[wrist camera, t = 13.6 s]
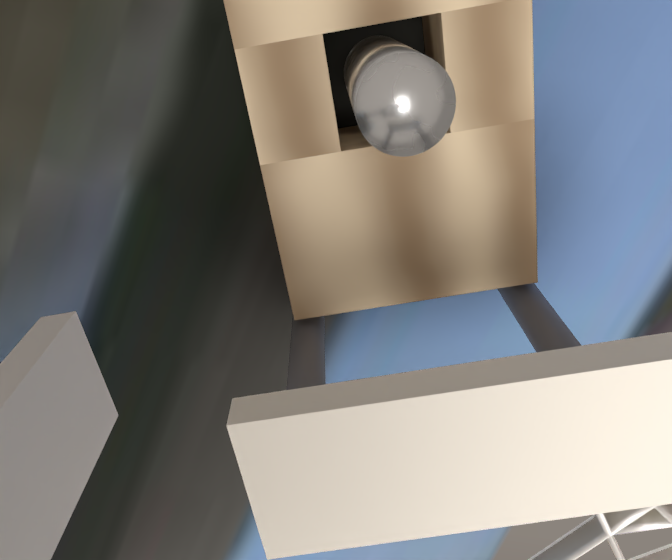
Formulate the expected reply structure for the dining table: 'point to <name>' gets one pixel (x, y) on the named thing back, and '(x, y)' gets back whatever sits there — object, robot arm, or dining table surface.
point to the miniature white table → (457, 439)
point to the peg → (398, 96)
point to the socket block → (392, 171)
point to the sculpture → (611, 534)
